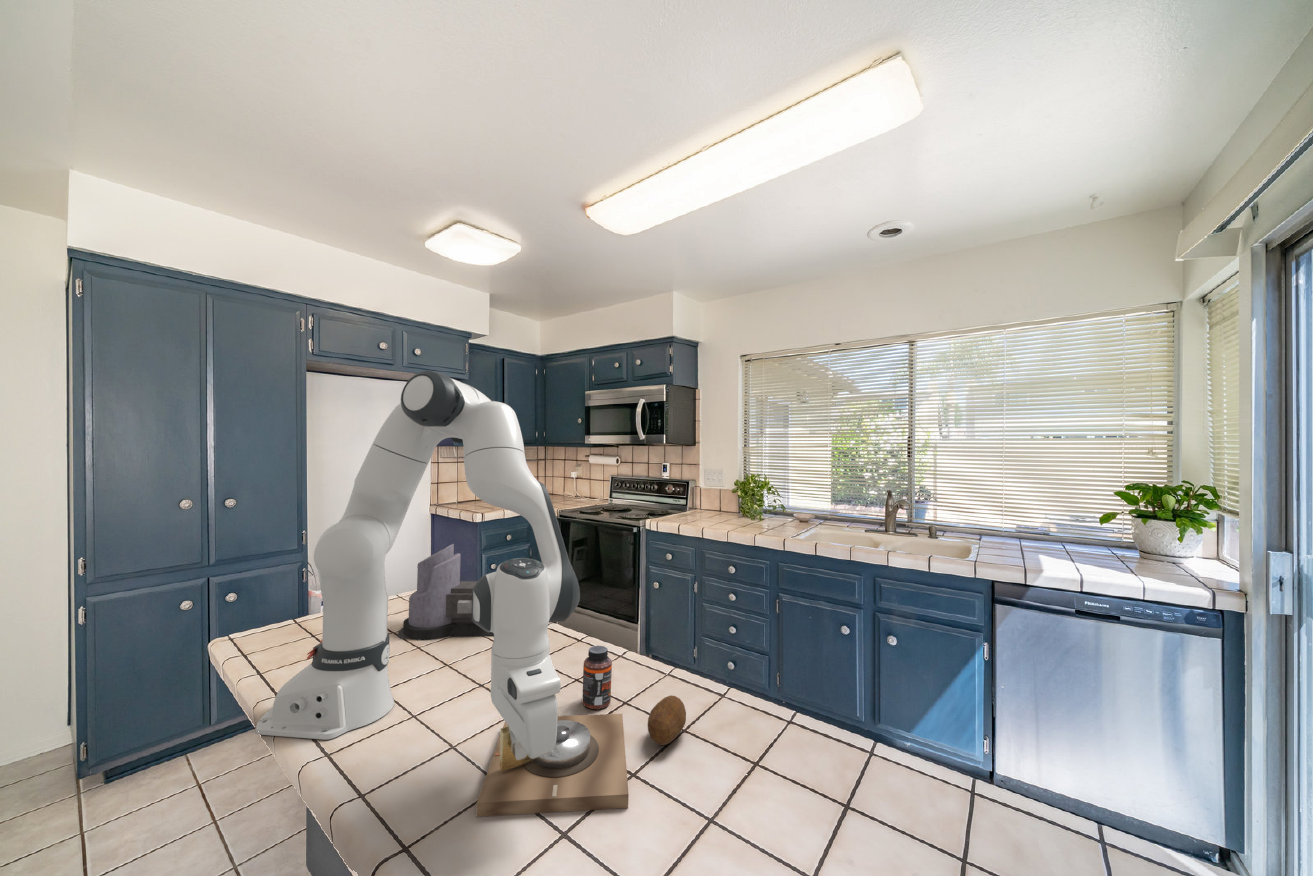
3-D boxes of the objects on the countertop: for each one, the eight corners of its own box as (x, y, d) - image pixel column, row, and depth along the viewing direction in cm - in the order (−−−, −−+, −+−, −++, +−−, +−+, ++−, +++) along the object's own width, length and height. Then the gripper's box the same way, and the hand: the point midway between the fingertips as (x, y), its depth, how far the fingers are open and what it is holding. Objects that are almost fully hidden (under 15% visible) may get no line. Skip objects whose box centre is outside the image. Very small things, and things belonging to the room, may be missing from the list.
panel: (476, 816, 71) (476, 801, 71) (505, 728, 93) (506, 717, 93) (628, 807, 73) (628, 793, 73) (622, 724, 95) (622, 712, 95)
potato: (639, 753, 86) (640, 713, 86) (656, 718, 97) (657, 683, 98) (677, 760, 85) (678, 720, 85) (690, 724, 96) (690, 688, 96)
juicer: (387, 641, 132) (390, 550, 132) (411, 619, 148) (414, 538, 148) (501, 639, 134) (503, 550, 135) (513, 619, 150) (515, 539, 151)
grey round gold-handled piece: (575, 725, 90) (576, 692, 90) (600, 755, 82) (601, 718, 82) (492, 752, 82) (493, 716, 82) (510, 788, 73) (511, 747, 73)
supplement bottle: (605, 712, 99) (607, 656, 99) (578, 709, 100) (579, 653, 100) (614, 698, 105) (615, 644, 105) (587, 694, 106) (589, 642, 106)
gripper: (482, 648, 84) (480, 730, 83) (522, 698, 67) (521, 801, 66) (518, 640, 87) (516, 719, 87) (565, 686, 70) (564, 784, 70)
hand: (519, 755), depth 76 cm, fingers closed
